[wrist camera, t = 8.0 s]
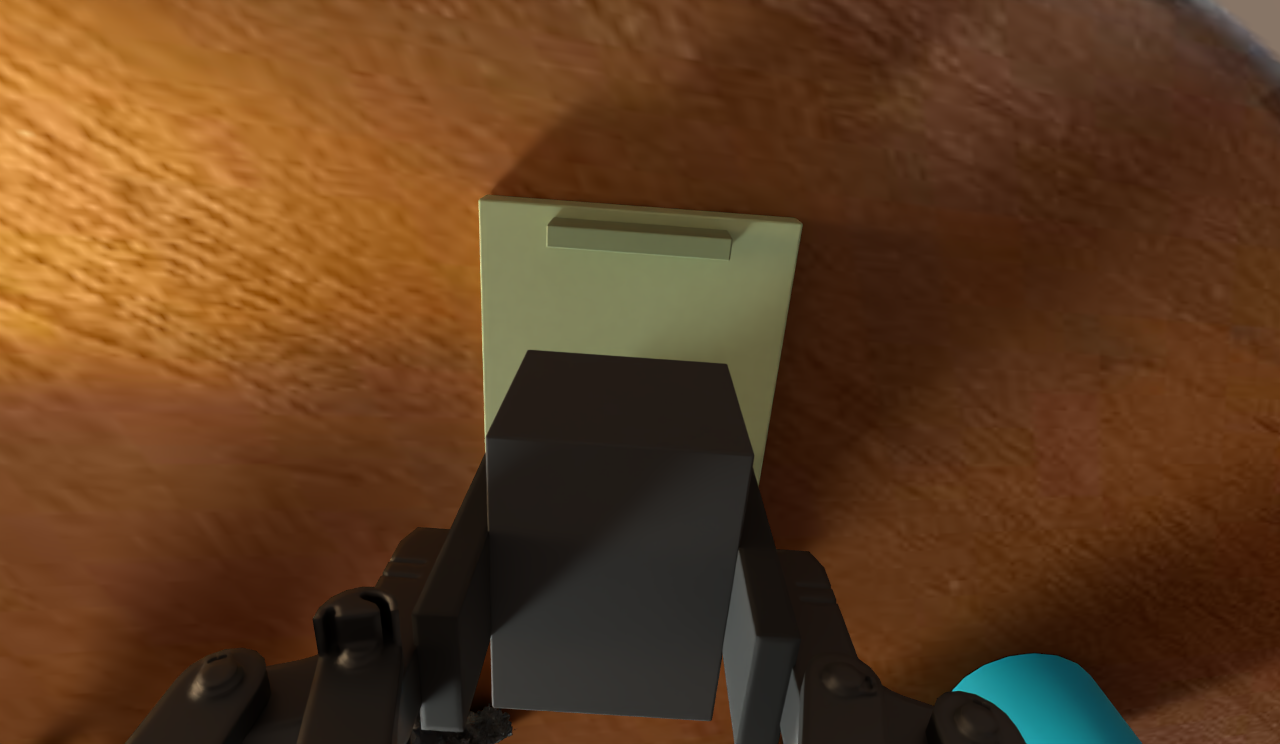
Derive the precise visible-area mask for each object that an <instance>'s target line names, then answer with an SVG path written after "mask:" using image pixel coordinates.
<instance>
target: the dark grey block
mask: <svg viewBox="0 0 1280 744" xmlns="http://www.w3.org/2000/svg"><path fill="white" fill-rule="evenodd" d="M485 442H486V482H487V522H488V531H489V561H490V602H491V638H490V641H491V681H492V706H493V707H494V708H507V709H523V710H539V711H555V712H571V713H587V714H604V715H620V716H636V717H652V718H668V719H684V720H701V721H711V720H712V716H713V710H714V704H715V698H716V691H717V685H718V679H719V673H720V667H721V660H722V654H723V652H722V649H723V642H724V636H725V630H726V624H727V617H728V611H729V605H730V599H731V592H732V586H733V580H734V574H735V568H736V561H737V555H738V549H739V547H740V543H741V537H742V530H743V524H744V518H745V512H746V506H747V499H748V493H749V487H750V481H751V475H752V469H753V462H754V456H755V455H754V452H753V449H752V445H751V442H750V439H749V435H748V432H747V428H746V425H745V422H744V418H743V415H742V412H741V408H740V405H739V402H738V398H737V395H736V391H735V388H734V385H733V381H732V378H731V375H730V371H729V368H728V365H727V364H724V363H710V362H696V361H682V360H668V359H654V358H639V357H625V356H611V355H597V354H583V353H569V352H555V351H541V350H527V352H526V354H525V356H524V358H523V360H522V362H521V365H520V367H519V369H518V371H517V373H516V375H515V377H514V379H513V381H512V383H511V385H510V387H509V389H508V391H507V393H506V395H505V398H504V400H503V402H502V404H501V406H500V408H499V410H498V412H497V414H496V416H495V418H494V420H493V422H492V424H491V426H490V429H489V431H488V433H487V435H486V437H485Z"/></svg>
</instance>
